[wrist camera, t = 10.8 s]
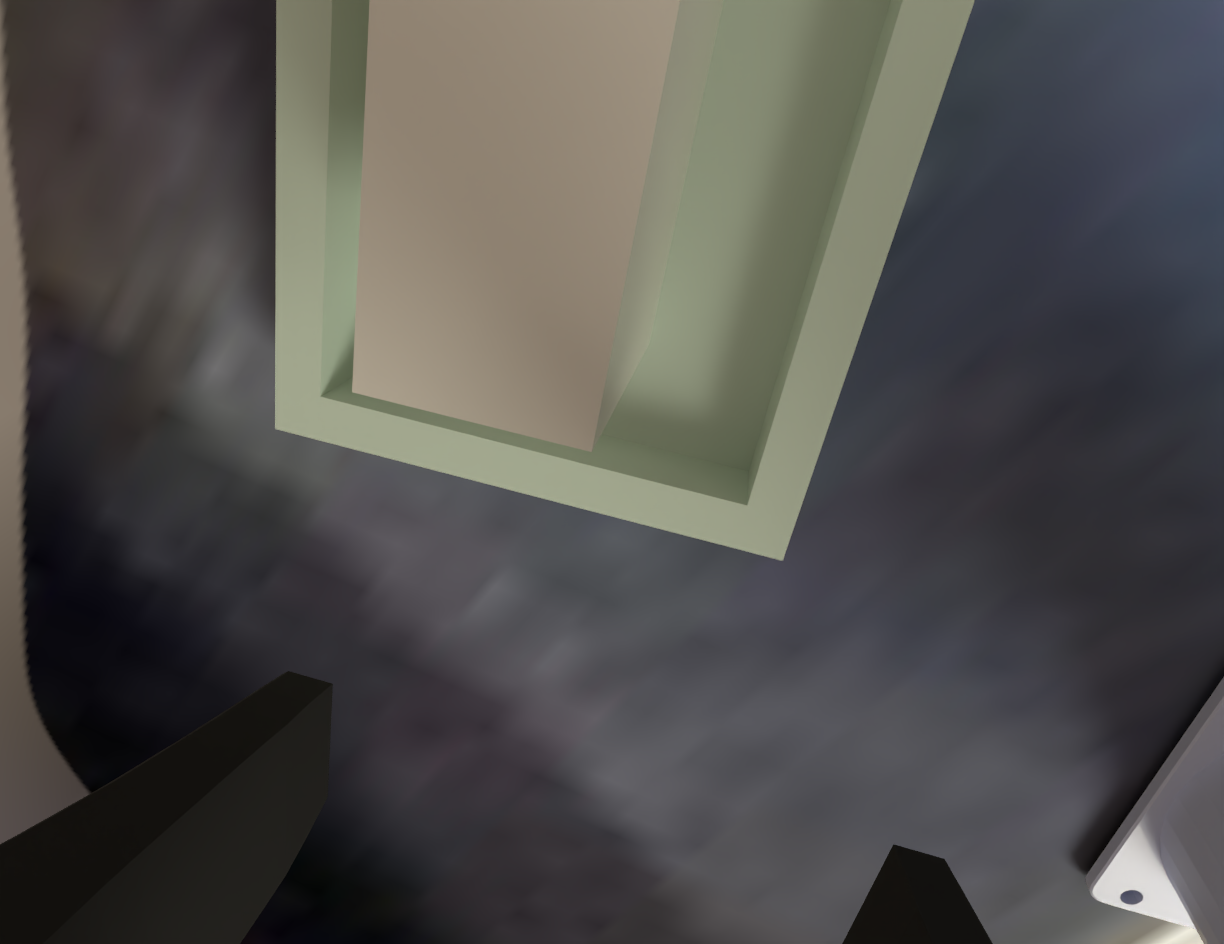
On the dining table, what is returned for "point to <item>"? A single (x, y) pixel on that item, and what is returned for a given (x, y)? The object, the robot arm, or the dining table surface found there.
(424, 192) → the beige rectangular block
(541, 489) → the tray
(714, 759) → the dining table surface
